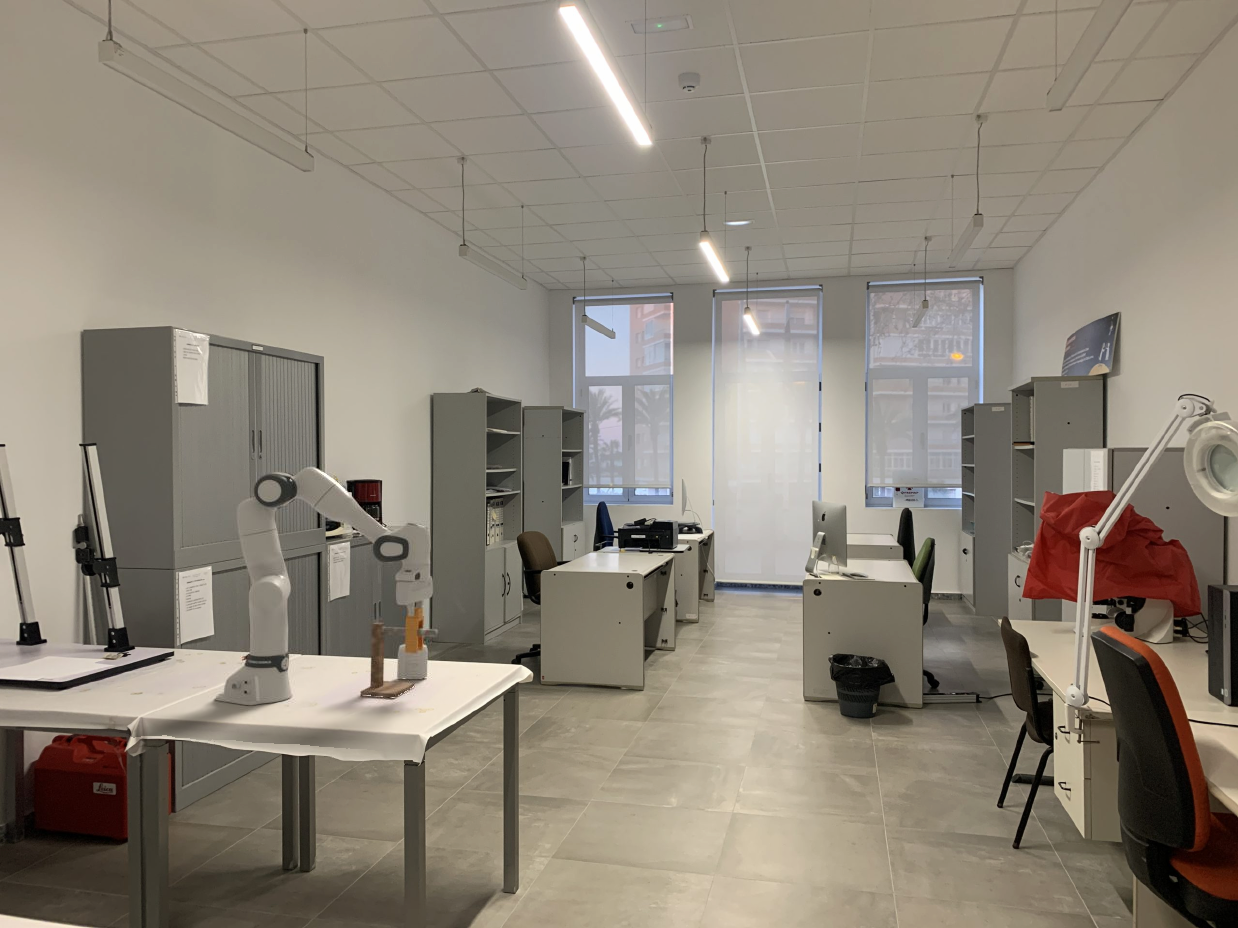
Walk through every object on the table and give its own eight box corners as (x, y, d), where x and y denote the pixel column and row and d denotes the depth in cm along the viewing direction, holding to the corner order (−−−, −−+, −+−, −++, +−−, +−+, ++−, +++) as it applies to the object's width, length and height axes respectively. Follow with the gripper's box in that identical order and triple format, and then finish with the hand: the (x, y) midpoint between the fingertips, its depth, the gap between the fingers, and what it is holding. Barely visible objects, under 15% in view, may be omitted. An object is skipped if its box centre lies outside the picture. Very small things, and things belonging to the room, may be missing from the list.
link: (405, 652, 259) (406, 608, 260) (411, 649, 264) (412, 606, 264) (416, 653, 259) (417, 609, 259) (422, 650, 263) (424, 607, 264)
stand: (360, 695, 257) (361, 626, 257) (381, 685, 271) (382, 619, 271) (425, 700, 253) (427, 630, 253) (443, 689, 266) (445, 622, 267)
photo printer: (427, 676, 283) (428, 641, 284) (426, 679, 279) (427, 644, 279) (398, 677, 282) (398, 642, 282) (396, 680, 278) (397, 644, 278)
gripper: (420, 568, 273) (419, 609, 272) (392, 575, 253) (391, 619, 252) (438, 569, 271) (437, 610, 271) (411, 576, 251) (410, 620, 251)
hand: (414, 614), depth 262 cm, fingers closed on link, 3 cm apart
